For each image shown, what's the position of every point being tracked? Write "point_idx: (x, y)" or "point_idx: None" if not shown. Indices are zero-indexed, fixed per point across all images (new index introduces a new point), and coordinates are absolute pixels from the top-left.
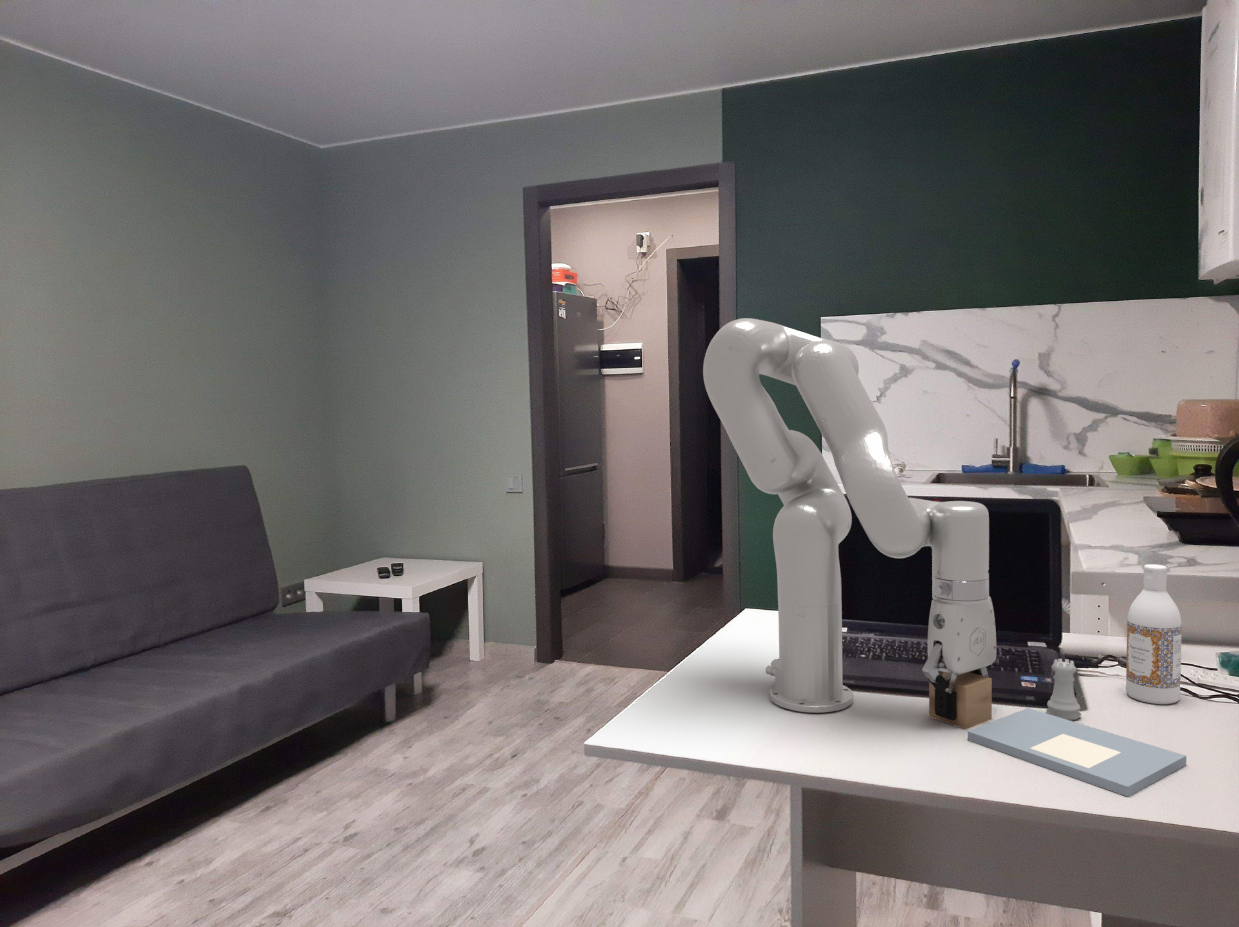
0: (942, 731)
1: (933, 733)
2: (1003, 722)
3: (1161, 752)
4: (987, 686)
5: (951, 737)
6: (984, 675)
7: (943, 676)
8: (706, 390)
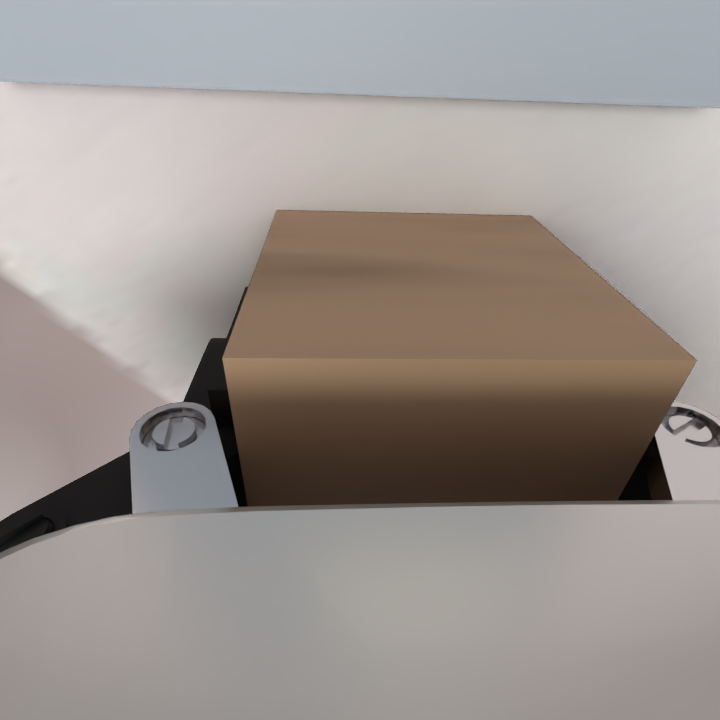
0: (633, 274)
1: (685, 286)
2: (412, 18)
3: None
4: (310, 317)
5: (700, 194)
6: (193, 444)
7: None
8: None
